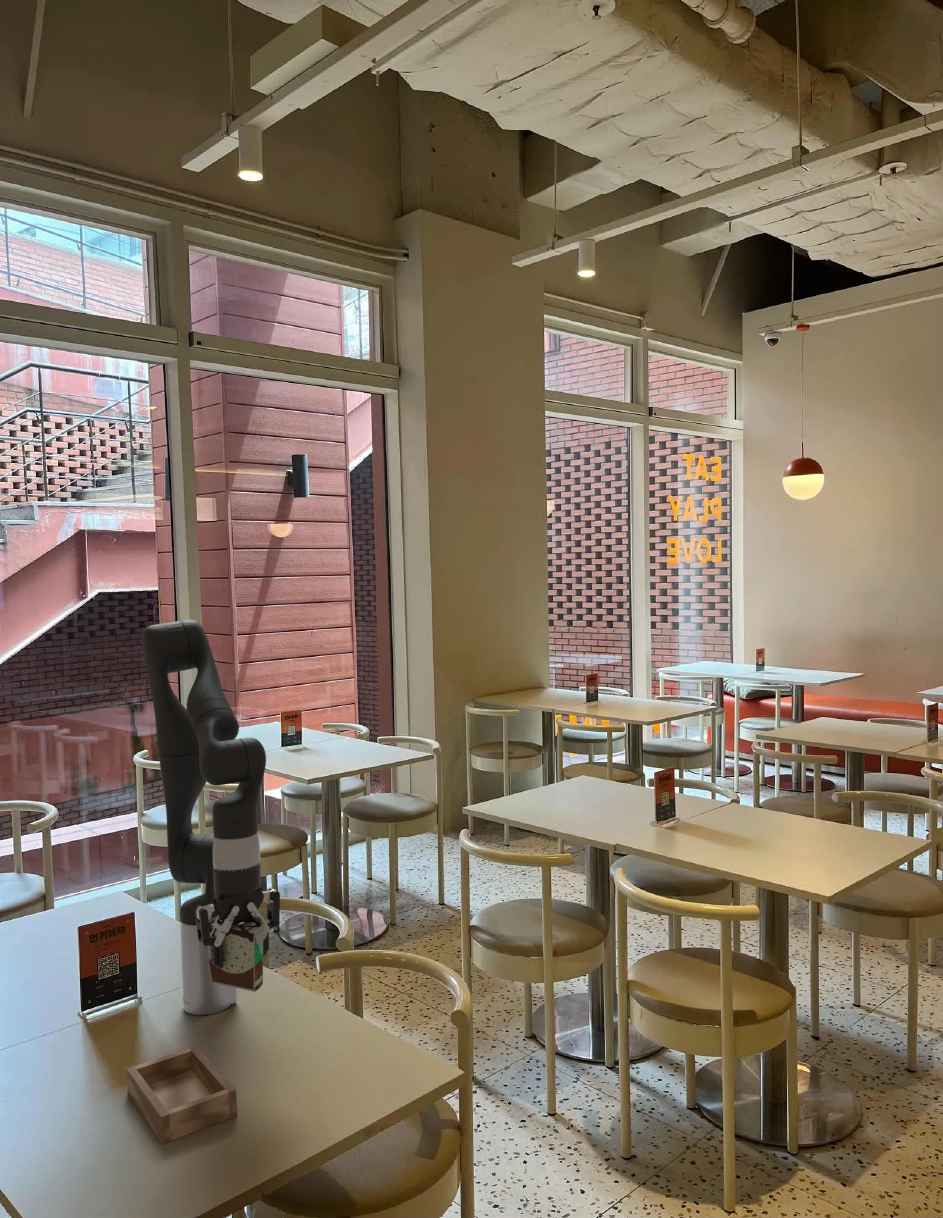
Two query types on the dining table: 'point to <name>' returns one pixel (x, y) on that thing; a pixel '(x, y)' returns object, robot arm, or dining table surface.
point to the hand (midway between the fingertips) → (240, 960)
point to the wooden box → (181, 1094)
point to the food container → (240, 956)
